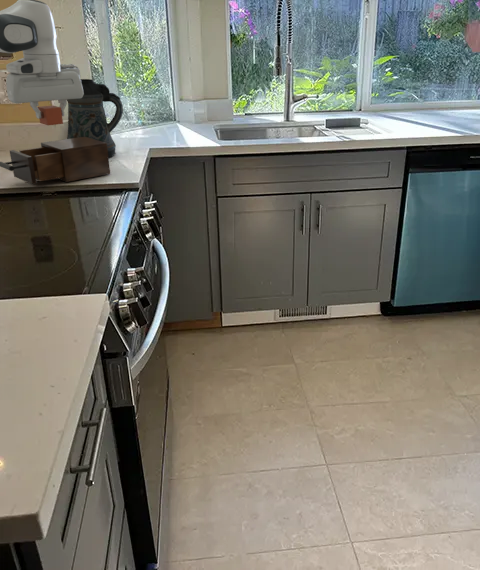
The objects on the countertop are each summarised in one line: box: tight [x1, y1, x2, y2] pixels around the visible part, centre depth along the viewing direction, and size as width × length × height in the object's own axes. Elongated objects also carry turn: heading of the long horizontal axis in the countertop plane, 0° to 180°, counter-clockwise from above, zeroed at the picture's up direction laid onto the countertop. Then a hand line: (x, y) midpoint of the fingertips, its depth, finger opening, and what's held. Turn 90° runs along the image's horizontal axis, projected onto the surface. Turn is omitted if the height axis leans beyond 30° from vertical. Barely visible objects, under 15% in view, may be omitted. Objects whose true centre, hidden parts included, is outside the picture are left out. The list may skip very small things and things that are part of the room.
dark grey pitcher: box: [66, 78, 124, 159], centre depth 202 cm, size 16×19×25 cm
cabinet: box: [40, 137, 111, 183], centre depth 182 cm, size 15×13×10 cm
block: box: [37, 105, 64, 126], centre depth 166 cm, size 4×4×4 cm
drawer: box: [0, 146, 64, 185], centre depth 173 cm, size 18×11×8 cm, turn 139°
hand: (50, 117), depth 166 cm, fingers closed on block, 4 cm apart
